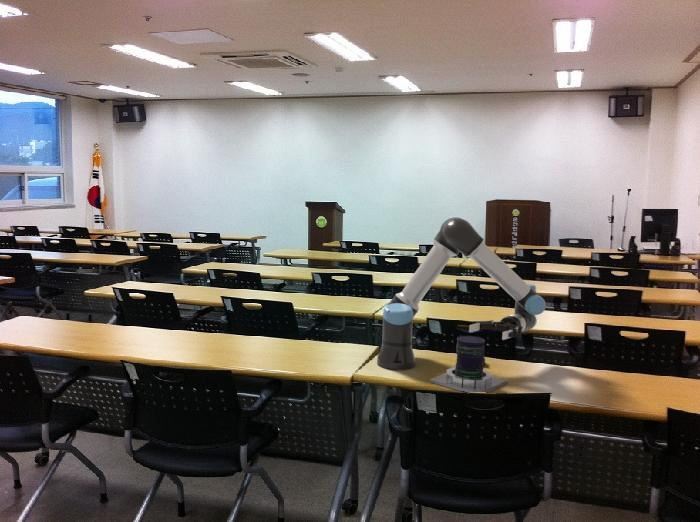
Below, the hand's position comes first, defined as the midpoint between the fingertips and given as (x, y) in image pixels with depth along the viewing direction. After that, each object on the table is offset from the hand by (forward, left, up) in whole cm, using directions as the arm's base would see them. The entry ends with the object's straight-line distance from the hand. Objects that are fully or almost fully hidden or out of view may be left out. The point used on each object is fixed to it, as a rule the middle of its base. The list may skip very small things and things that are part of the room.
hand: (486, 332), depth 211 cm
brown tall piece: (-13, +17, -17) cm, 27 cm away
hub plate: (0, -11, -17) cm, 20 cm away
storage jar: (0, -10, -16) cm, 19 cm away
